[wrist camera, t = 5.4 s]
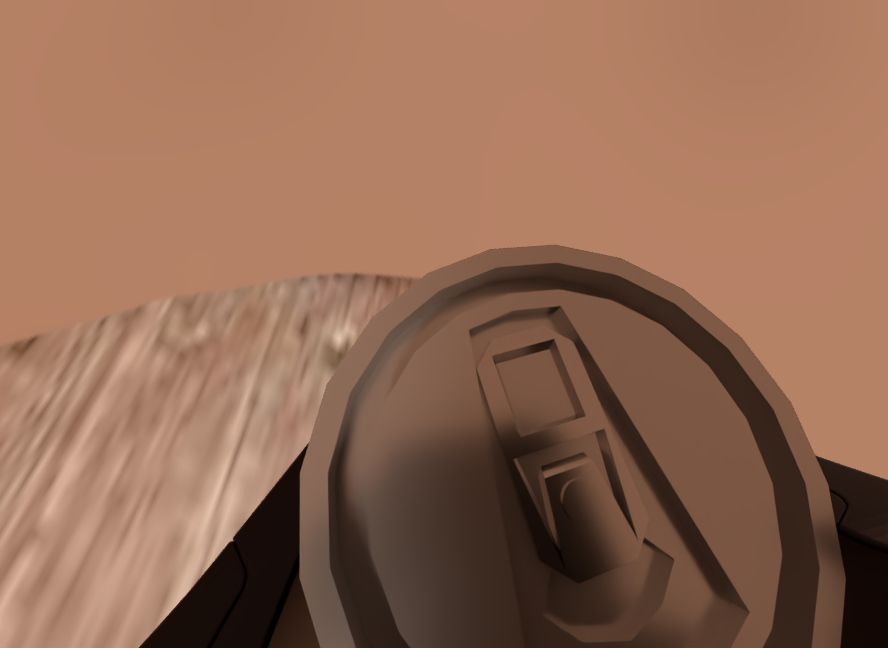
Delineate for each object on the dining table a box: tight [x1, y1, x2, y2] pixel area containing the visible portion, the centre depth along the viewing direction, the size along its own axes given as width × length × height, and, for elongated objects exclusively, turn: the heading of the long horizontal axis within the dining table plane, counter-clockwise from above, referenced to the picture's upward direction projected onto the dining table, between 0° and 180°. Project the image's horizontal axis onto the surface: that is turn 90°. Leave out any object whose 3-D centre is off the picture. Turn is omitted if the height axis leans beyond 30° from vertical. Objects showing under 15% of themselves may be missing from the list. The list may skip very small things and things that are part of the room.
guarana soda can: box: [300, 245, 846, 648], centre depth 9 cm, size 5×5×12 cm
